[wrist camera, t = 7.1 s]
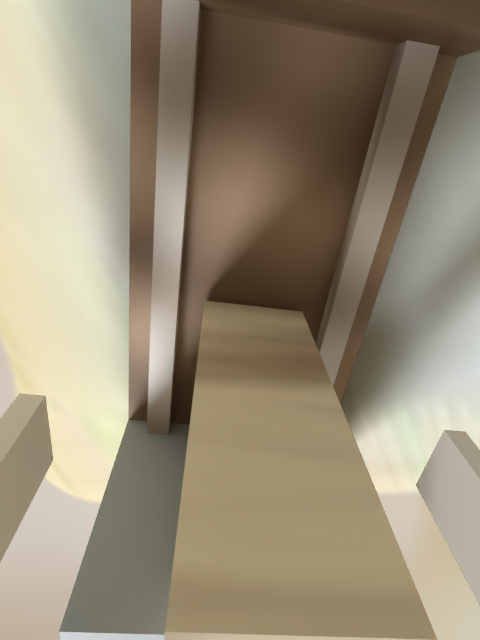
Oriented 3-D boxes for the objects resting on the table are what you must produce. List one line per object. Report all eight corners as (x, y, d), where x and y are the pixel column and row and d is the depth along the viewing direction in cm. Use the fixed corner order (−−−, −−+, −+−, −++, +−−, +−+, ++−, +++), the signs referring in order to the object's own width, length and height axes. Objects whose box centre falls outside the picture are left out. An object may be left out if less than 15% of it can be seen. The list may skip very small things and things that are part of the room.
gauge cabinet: (131, 399, 19) (51, 631, 10) (322, 415, 20) (398, 641, 11) (130, 467, 22) (64, 705, 13) (303, 479, 23) (353, 708, 14)
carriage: (204, 300, 15) (165, 632, 5) (302, 311, 15) (437, 640, 6) (191, 415, 18) (151, 774, 8) (275, 422, 18) (334, 773, 8)
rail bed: (145, -230, 10) (90, -473, 6) (498, -144, 11) (659, -302, 7) (134, 467, 22) (113, 545, 18) (303, 479, 23) (319, 555, 19)
